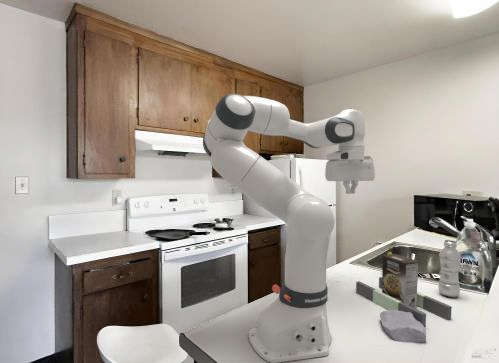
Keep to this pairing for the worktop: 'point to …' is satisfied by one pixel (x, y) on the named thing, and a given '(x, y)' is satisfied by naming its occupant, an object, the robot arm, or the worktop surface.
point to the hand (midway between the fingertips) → (350, 193)
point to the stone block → (402, 326)
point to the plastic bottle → (449, 269)
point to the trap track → (394, 304)
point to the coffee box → (400, 278)
